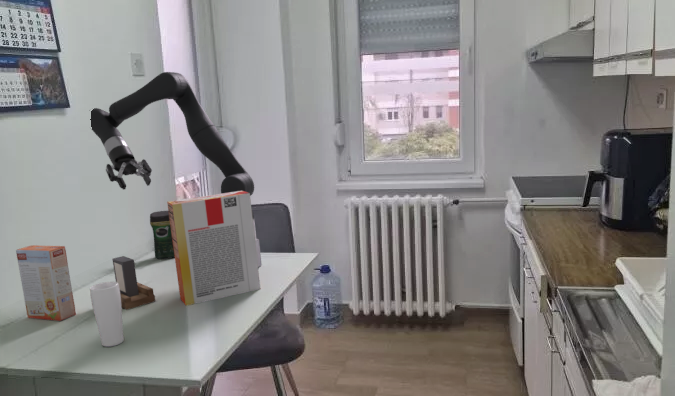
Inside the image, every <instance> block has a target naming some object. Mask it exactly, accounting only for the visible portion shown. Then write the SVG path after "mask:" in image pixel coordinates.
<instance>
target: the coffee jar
mask: <svg viewBox="0 0 675 396" xmlns="http://www.w3.org/2000/svg"><path fill="white" fill-rule="evenodd" d="M149 224H150V227H151V229H152V233H153V241H154V242H153V246H154V247H153V249H154V258H155V259H157V260H164V258H168V259H172V258H171V257H173V258H175V255H174V248H173V241H172V233H171V226H170V218H169V211H168V210H159V211H158V210H157V211H154V212H153V211H152V213H150V215H149Z"/></svg>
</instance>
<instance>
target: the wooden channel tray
mask: <svg viewBox="0 0 675 396" xmlns="http://www.w3.org/2000/svg"><path fill="white" fill-rule="evenodd" d="M137 285H138V292H139V295H135V296H132V297H128V296H126V295H124V294H122V293H120V295H121V305H122V308H123V309H124V310H126V311H127V310H130V309H134V308H137V307H140V306H141V307H142V306H144V305H148V304H150V303H154V302H156V295H155V294H154V293H155V292H154V288H153V287H150V286H147V285H145V284H143V283H141V282H138V281H137Z"/></svg>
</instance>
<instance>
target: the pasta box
mask: <svg viewBox="0 0 675 396" xmlns="http://www.w3.org/2000/svg"><path fill="white" fill-rule="evenodd" d="M166 203H167V211H169V218H170V226H171V233H172V241H173V248H174V255H175V257H174V263H175V270H176V274H177V276H176V277H177V283H178V290H179V298H180V301H182V303H183V304H184V305H185V306H190V305H196V304H199V303H204V302H207V301H208V302H209V301H213V300H217V299H222V298H227V297H231V296H235V295H239V294H244V293H248V292H253V291H257V290H261V280H260V273H259V267H258V262H257V253H256V244H255V235H254V226H253V217H252V211H253V209H252V202H251V196H250V193H248V192H245V191H236V192H229V193H222V194H221V193H217V194H210V195H203V196H196V197H190V198H188V197H187V198H184V199H183V198H182V199H175V200H169V201H167V202H166Z"/></svg>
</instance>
